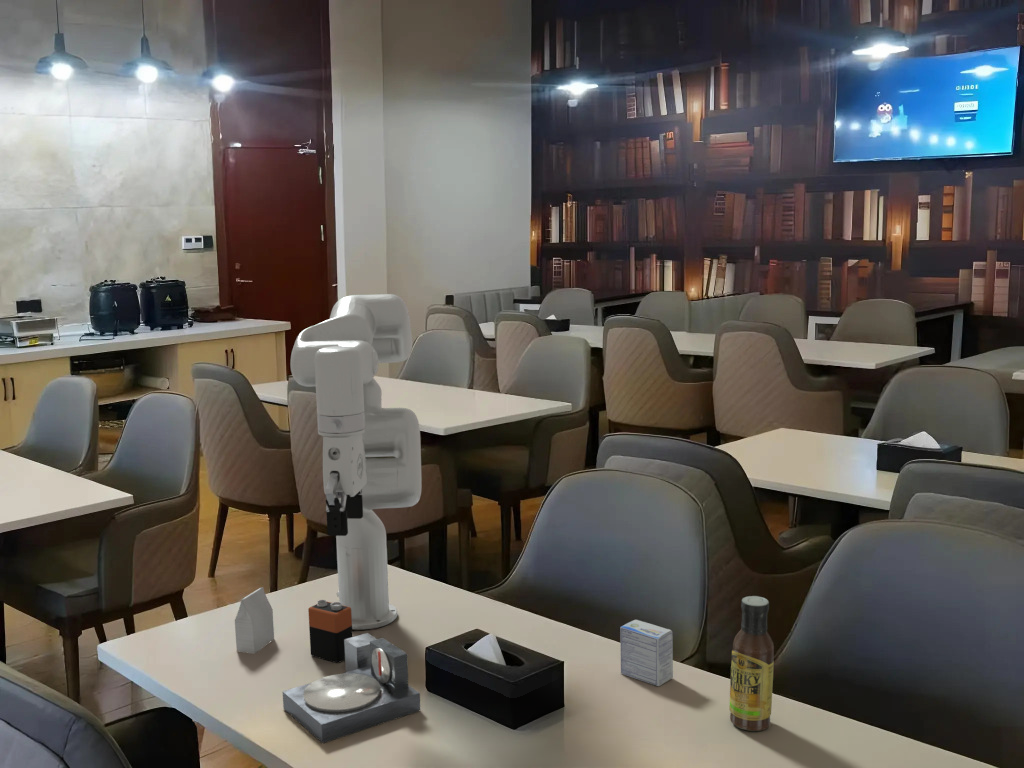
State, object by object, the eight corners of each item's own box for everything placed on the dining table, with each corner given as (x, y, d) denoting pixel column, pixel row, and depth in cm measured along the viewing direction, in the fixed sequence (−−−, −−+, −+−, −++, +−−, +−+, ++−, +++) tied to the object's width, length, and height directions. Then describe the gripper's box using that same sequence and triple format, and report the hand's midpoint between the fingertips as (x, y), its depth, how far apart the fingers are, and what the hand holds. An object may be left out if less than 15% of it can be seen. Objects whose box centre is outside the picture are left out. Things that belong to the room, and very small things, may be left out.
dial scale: (283, 709, 170) (280, 657, 168) (377, 680, 179) (375, 631, 178) (322, 743, 158) (319, 688, 157) (420, 710, 168) (418, 658, 167)
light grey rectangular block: (345, 672, 183) (344, 639, 182) (368, 665, 185) (367, 632, 184) (358, 681, 179) (356, 647, 178) (381, 674, 182) (380, 641, 181)
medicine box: (673, 679, 178) (673, 630, 176) (658, 688, 174) (658, 638, 173) (635, 666, 183) (635, 618, 182) (619, 674, 180) (619, 626, 178)
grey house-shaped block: (274, 639, 198) (271, 588, 196) (254, 653, 191) (251, 600, 190) (257, 637, 199) (253, 586, 197) (236, 651, 192) (233, 598, 191)
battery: (338, 664, 186) (335, 609, 184) (309, 656, 190) (306, 602, 188) (354, 655, 190) (352, 601, 188) (326, 647, 193) (323, 595, 192)
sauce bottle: (721, 723, 162) (722, 599, 159) (744, 710, 166) (747, 588, 163) (756, 738, 157) (759, 610, 154) (780, 724, 162) (783, 599, 158)
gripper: (350, 434, 162) (354, 542, 165) (376, 413, 179) (380, 512, 182) (302, 434, 163) (307, 542, 165) (333, 413, 180) (337, 511, 182)
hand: (345, 526), depth 173 cm, fingers open, 9 cm apart
